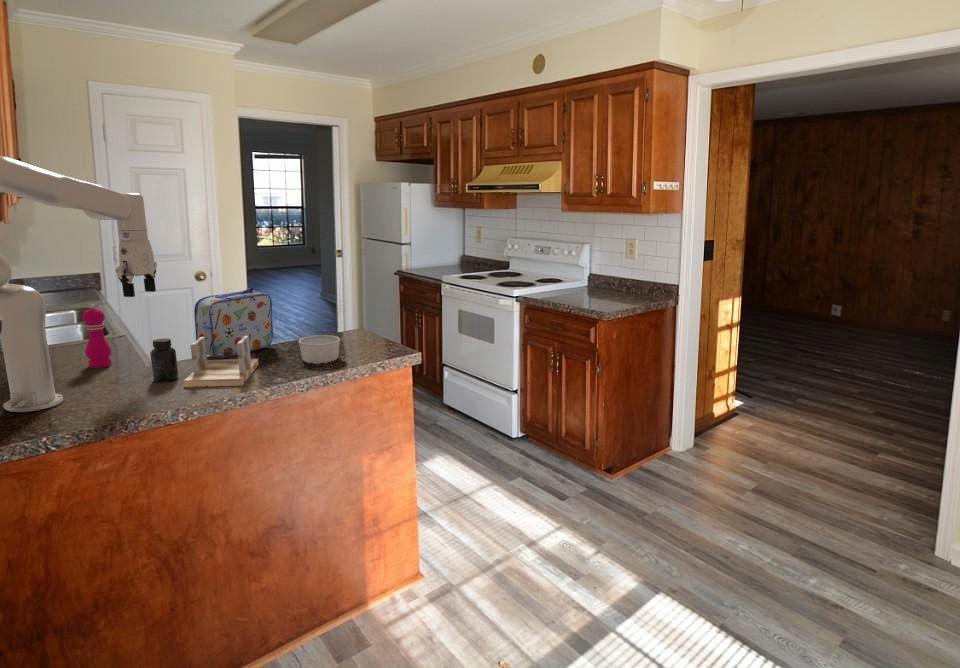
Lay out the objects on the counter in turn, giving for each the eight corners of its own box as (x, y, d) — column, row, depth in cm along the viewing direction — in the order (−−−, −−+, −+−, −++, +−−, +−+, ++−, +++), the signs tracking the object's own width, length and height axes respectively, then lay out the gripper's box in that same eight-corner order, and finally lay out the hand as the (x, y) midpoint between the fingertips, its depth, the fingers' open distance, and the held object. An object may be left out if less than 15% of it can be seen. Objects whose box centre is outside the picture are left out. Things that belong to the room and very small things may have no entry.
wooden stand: (242, 385, 184) (239, 348, 182) (184, 387, 182) (180, 350, 180) (258, 364, 206) (256, 331, 203) (206, 366, 204) (203, 332, 201)
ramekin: (344, 363, 208) (343, 342, 207) (302, 367, 203) (301, 345, 202) (337, 353, 220) (336, 333, 219) (297, 357, 215) (296, 336, 214)
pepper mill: (89, 369, 199) (80, 306, 195) (85, 365, 205) (76, 303, 200) (115, 365, 204) (107, 304, 199) (110, 361, 209) (102, 301, 205)
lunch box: (260, 342, 235) (256, 283, 230) (280, 346, 230) (276, 285, 225) (194, 359, 212) (187, 293, 207) (214, 363, 207) (208, 296, 202)
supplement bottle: (183, 378, 191) (179, 339, 189) (162, 383, 186) (157, 343, 183) (169, 374, 195) (165, 336, 192) (148, 380, 189) (143, 340, 186)
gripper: (125, 238, 178) (132, 299, 182) (163, 234, 195) (169, 289, 198) (100, 238, 179) (108, 298, 183) (140, 233, 196) (146, 289, 199)
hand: (140, 294), depth 191 cm, fingers open, 9 cm apart
